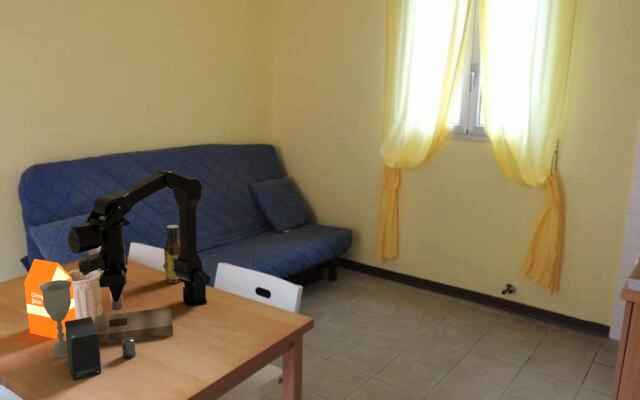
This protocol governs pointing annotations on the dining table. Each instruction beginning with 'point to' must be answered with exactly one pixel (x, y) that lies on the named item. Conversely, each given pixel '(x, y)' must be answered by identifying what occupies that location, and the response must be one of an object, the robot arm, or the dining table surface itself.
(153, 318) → the pin board
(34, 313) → the orange juice
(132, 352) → the short pin
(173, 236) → the sauce bottle
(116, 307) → the long pin
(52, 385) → the dining table surface
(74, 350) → the small box
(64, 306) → the chalice
